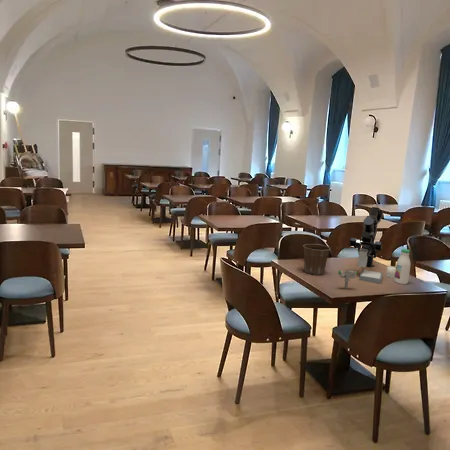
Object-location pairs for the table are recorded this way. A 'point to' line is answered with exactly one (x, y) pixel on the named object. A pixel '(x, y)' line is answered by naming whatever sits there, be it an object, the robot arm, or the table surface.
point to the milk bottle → (403, 267)
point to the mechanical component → (347, 276)
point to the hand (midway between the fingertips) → (363, 255)
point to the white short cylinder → (391, 271)
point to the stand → (371, 276)
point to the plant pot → (315, 258)
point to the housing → (362, 257)
